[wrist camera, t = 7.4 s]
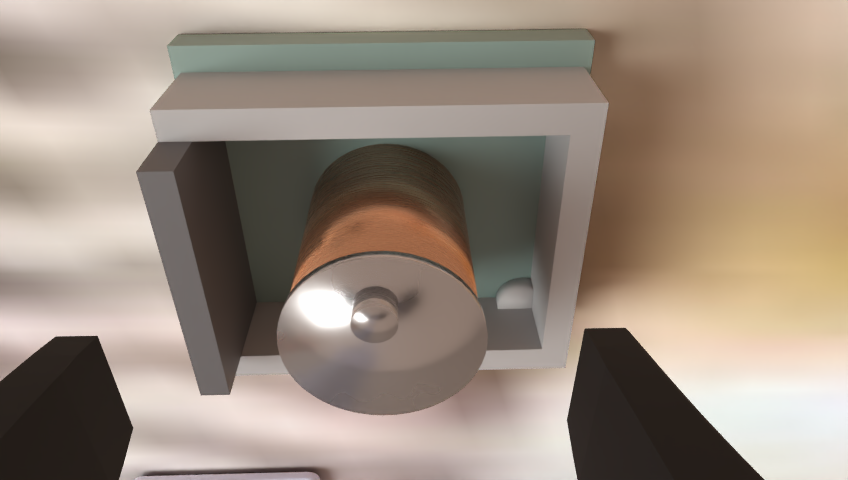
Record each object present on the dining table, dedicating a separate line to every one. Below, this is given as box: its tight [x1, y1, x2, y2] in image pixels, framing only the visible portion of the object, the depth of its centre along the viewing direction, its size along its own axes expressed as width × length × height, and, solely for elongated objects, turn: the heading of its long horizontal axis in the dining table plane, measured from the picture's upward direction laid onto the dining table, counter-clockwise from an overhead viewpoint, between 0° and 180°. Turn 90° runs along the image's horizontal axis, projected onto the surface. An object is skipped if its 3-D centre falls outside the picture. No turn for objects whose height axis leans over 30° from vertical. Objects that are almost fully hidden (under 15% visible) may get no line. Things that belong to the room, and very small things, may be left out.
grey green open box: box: [136, 29, 609, 395], centre depth 18 cm, size 10×11×5 cm
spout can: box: [277, 144, 488, 415], centre depth 17 cm, size 5×5×6 cm
